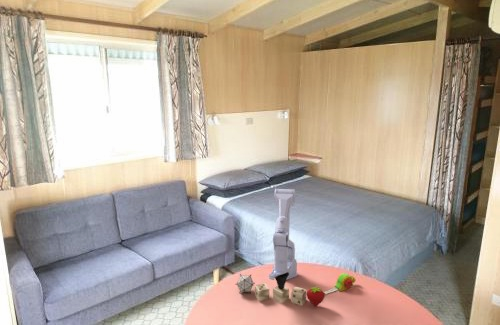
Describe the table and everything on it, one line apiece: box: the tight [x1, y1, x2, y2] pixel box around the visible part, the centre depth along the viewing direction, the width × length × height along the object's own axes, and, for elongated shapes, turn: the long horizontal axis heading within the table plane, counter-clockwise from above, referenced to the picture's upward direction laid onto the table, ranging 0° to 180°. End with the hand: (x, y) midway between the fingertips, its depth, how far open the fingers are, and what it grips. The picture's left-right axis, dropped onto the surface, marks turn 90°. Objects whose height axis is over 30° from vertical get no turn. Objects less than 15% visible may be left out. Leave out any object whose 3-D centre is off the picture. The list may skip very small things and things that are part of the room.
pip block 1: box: [254, 282, 270, 302], centre depth 152 cm, size 5×5×5 cm
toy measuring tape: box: [323, 272, 356, 295], centre depth 157 cm, size 6×19×7 cm, turn 116°
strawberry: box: [306, 285, 326, 307], centre depth 144 cm, size 6×8×10 cm
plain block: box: [272, 285, 290, 304], centre depth 151 cm, size 5×5×5 cm
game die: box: [235, 273, 256, 294], centre depth 156 cm, size 9×8×10 cm
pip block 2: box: [290, 286, 307, 307], centre depth 149 cm, size 5×5×5 cm
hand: (281, 288), depth 150 cm, fingers closed
